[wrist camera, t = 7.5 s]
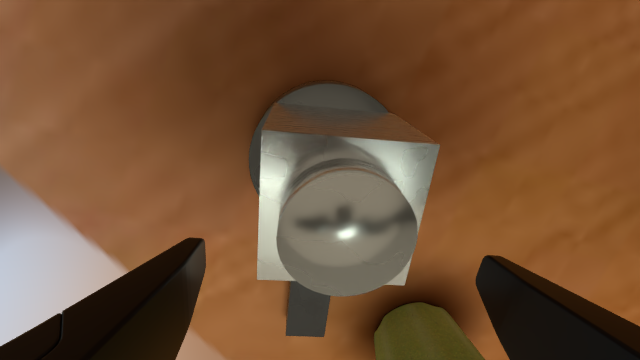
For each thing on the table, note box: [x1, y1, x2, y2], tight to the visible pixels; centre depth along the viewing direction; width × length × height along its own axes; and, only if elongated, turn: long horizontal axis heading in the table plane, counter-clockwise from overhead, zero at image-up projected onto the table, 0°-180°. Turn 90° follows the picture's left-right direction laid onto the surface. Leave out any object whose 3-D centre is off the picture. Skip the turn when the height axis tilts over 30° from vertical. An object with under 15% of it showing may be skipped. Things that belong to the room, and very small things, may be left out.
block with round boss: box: [257, 103, 440, 296], centre depth 13 cm, size 6×6×7 cm
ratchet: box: [249, 80, 389, 337], centre depth 17 cm, size 16×8×5 cm, turn 173°
